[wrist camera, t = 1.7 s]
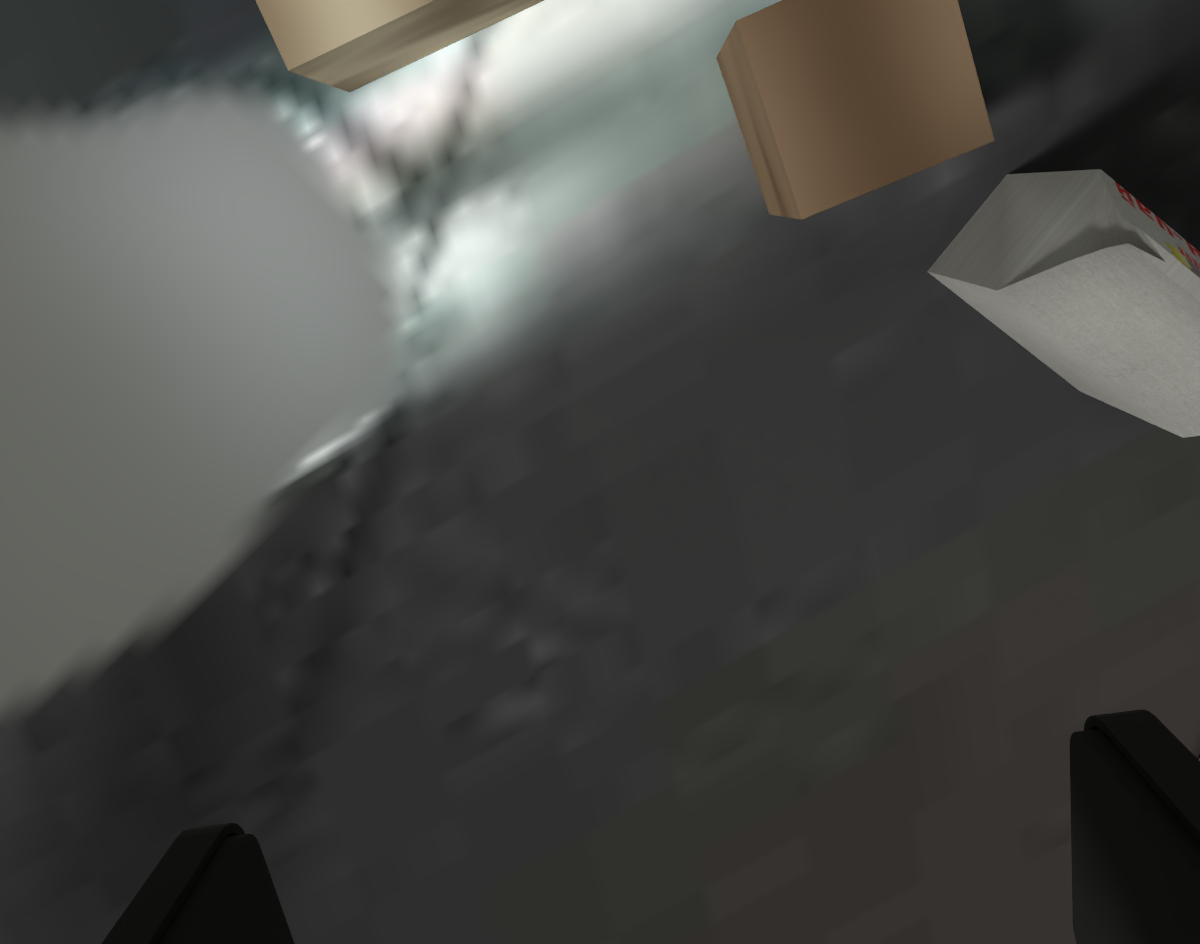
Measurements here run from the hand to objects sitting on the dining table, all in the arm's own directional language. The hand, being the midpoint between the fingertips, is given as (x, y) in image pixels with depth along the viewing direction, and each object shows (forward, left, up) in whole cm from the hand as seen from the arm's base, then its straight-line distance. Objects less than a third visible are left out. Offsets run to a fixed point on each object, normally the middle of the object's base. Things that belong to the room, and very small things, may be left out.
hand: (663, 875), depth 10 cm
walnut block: (-9, -7, -22) cm, 24 cm away
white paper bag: (-14, +1, -22) cm, 26 cm away
